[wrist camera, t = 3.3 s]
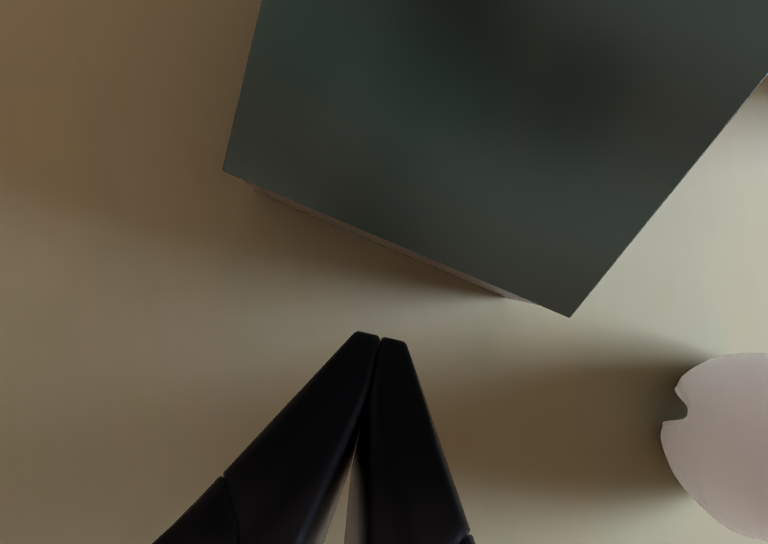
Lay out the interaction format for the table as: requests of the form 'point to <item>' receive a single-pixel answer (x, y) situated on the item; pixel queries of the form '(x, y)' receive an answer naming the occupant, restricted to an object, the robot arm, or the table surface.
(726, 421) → the water bottle
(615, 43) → the cover
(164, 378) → the table surface
